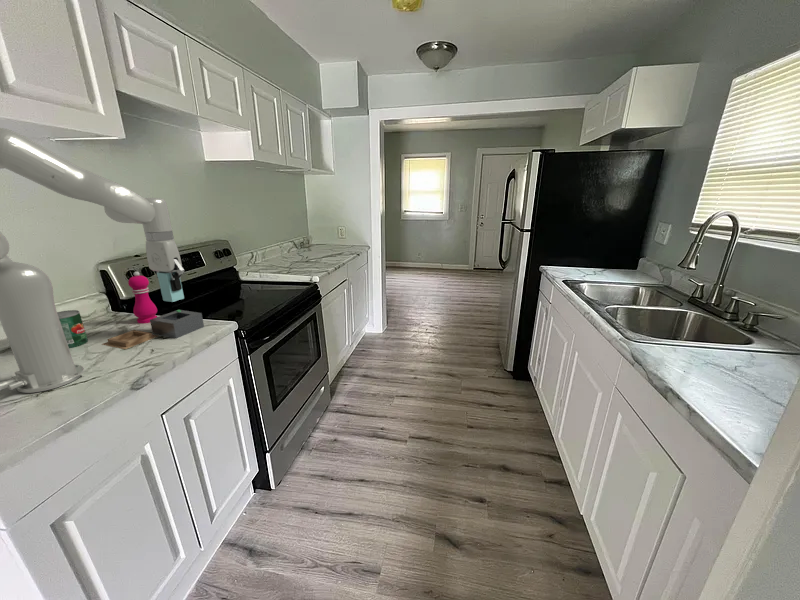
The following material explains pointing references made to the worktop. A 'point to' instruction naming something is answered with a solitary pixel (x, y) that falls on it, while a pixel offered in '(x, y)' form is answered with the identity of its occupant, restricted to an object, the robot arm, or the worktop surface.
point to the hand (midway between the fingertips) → (171, 289)
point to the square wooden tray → (129, 339)
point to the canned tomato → (73, 328)
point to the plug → (168, 288)
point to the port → (177, 323)
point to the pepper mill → (142, 299)
